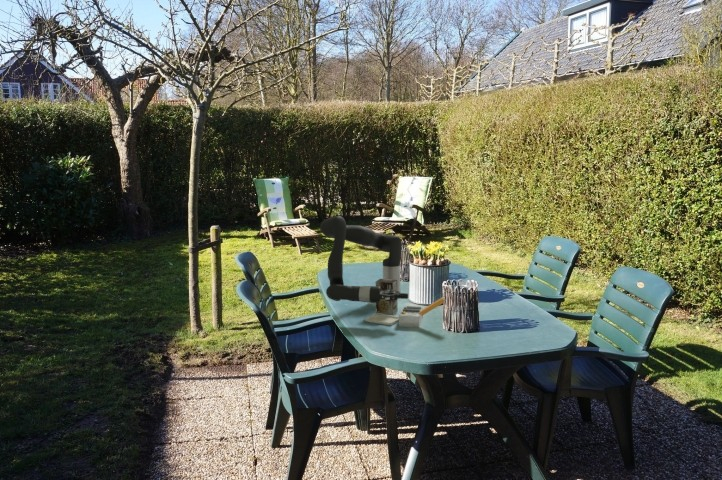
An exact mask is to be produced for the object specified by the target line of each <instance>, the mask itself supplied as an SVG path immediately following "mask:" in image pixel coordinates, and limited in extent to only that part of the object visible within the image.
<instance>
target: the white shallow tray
mask: <svg viewBox="0 0 722 480" xmlns="http://www.w3.org/2000/svg"><path fill="white" fill-rule="evenodd" d="M365 322H369V323H374V324H380V325H386V326H391V327H392V326H394V325H396V324H397V323H399V315H387V314H381V313H376V312H375V313H374V314H372V315H369V316H368V317H366V318H365Z"/></svg>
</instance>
